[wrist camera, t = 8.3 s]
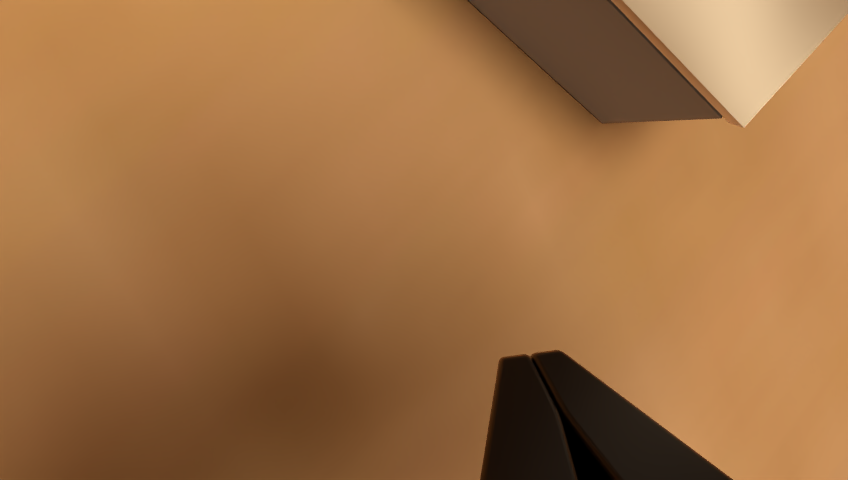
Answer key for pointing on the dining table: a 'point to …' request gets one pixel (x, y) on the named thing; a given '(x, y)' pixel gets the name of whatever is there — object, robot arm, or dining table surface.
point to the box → (599, 59)
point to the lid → (736, 44)
